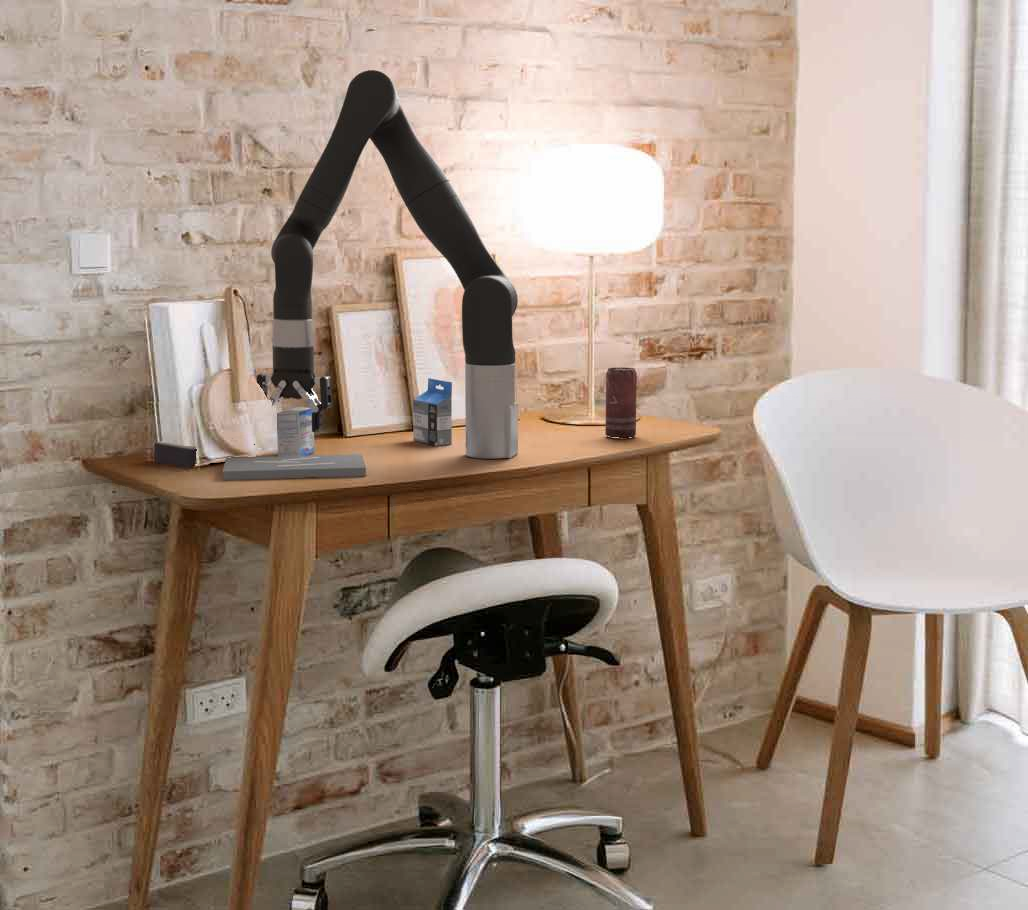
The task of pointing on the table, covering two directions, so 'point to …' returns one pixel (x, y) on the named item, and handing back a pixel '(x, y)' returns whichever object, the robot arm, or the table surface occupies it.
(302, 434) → the medicine box
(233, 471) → the slate board
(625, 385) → the can
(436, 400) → the label tape cartridge
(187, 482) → the table surface
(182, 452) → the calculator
